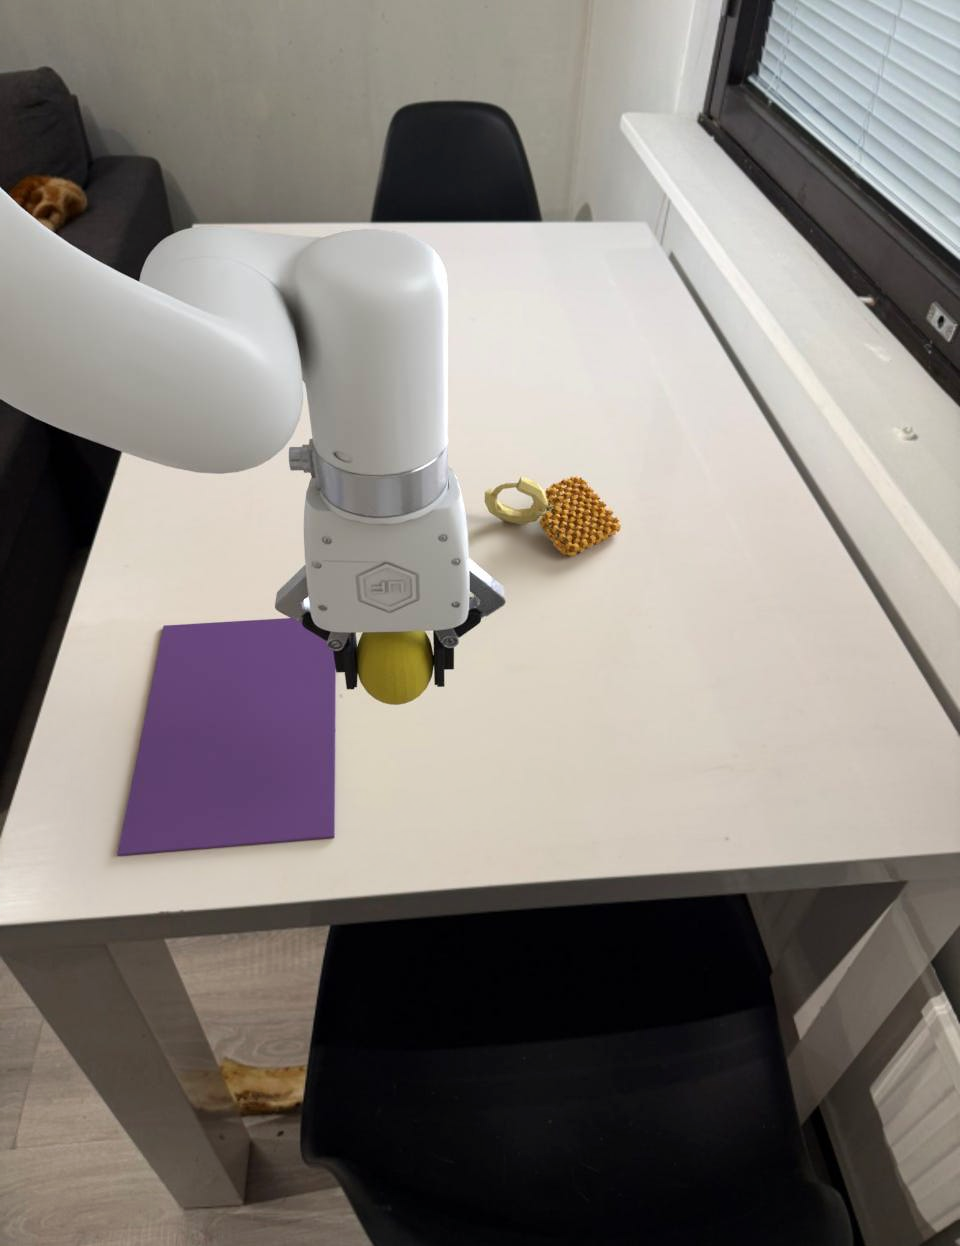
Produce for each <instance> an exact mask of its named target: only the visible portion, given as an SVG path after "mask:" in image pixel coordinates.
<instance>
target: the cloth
mask: <svg viewBox="0 0 960 1246" xmlns="http://www.w3.org/2000/svg"><path fill="white" fill-rule="evenodd" d="M336 681H337V679H336V668H335V660H334V653H333V650H330V649H329V648H328V647H327V641H326V640H324V639H322V638H320V637H319V636H317V635H315V634H314V633H312V632H310V631H309V630H307V629H305V628H304V627H303V625H302V622H300V621H295V620H293V619H292V618H290V617H285V618H269V619H268V618H267V619H254V620H253V619H250V620H234V621H217V622H216V621H215V622H203V623H202V622H201V623H199V622H197V623H184V624H182V623H181V624H168V625H163V626H162V632H161V637H160V641H159V646H158V651H157V657H156V662H155V666H154V672H153V676H152V681H151V686H150V691H149V695H148V696H149V697H148V701H147V706H146V709H145V710H146V711H145V716H144V721H143V726H142V730H141V736H140V740H139V745H138V750H137V756H136V760H135V765H134V769H133V775H132V780H131V786H130V790H129V795H128V800H127V804H126V809H125V814H124V819H123V824H122V829H121V834H120V839H119V844H118V849H117V856H118V857H127V856H136V855H148V854H159V853H171V852H173V853H174V852H184V851H192V850H193V851H195V850H207V849H209V850H210V849H219V848H221V849H222V848H230V847H231V848H233V847H242V846H255V845H269V844H278V843H279V844H280V843H291V842H303V841H315V840H327V839H334V838H335V827H336V826H335V824H336V823H335V822H336V821H335V819H336V816H335V815H336V814H335V812H336V811H335V810H336V809H335V808H336V805H335V804H336V799H335V798H336V796H335V795H336V793H335V792H336V686H337V685H336Z"/></svg>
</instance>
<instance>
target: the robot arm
mask: <svg viewBox="0 0 960 1246" xmlns="http://www.w3.org/2000/svg"><path fill="white" fill-rule="evenodd" d="M139 275H140V277H139V281H138V280H136V279H135V278H133V277H130V276H128V275H126V274H124V273H122V272H120V271H118V270H116V269H115V268H113V267H111V266H109V265H107V264H105V263H103V262H101V261H99V260H97V259H96V258H94V257H92V256H91V255H89V254H87V253H85V252H84V251H82V250H81V249H79V248H78V247H76V246H74V245H72V244H71V243H69V242H68V241H67V240H65V239H64V238H63V237H61V236H59V235H58V234H57V233H55V232H53V230H51V229H49V228H48V227H47V226H46V225H44V224H42V222H40V221H39V220H37V219H36V217H34V216H33V215H31V214H30V213H29V212H28V211H26V210H25V208H23V207H22V206H20V204H18V203H17V202H16V201H15V200H14V199H13V198H12V197H11V196H10V195H9V194H8V193H7V192H6V191H5V190H4V189H3V188H2V187H0V400H2V401H3V402H5V403H6V404H8V405H9V406H11V407H13V408H14V409H17V410H19V411H20V412H23V413H25V414H27V415H29V416H31V417H33V418H34V419H36V420H39V421H41V422H43V423H45V424H48V425H50V426H52V427H55V428H57V429H59V430H62V431H64V432H67V433H69V434H73V435H75V436H78V437H80V438H83V439H85V440H88V441H91V442H94V443H97V444H100V445H103V446H105V447H108V448H111V449H114V450H116V451H119V452H122V453H124V454H127V455H130V456H133V457H136V458H139V459H142V460H145V461H148V462H151V463H154V464H158V465H161V466H164V467H168V468H172V469H176V470H182V471H188V472H192V473H199V474H213V475H214V474H215V475H222V474H223V475H224V474H233V473H240V472H243V471H246V470H250V469H253V468H257V467H259V466H261V465H263V464H265V463H266V462H269V461H270V460H271V459H272V458H274V457H275V456H276V455H277V454H279V453H280V452H281V451H282V450H283V449H284V448H285V447H286V446H287V444H288V443H289V441H290V440H292V439H291V438H292V437H293V436H294V433H295V432H296V430H297V427H298V424H299V422H300V420H301V416H302V411H303V405H304V386H305V393H306V401H307V406H308V408H307V409H308V413H309V422H310V431H311V437H312V438H309V441H308V444H302V446H289V448H288V464H289V469H290V471H294V472H295V471H303V473H304V474H310V476H311V478H310V480H309V482H308V486H307V489H306V493H305V499H304V509H303V548H304V549H303V551H304V565H303V566H302V567H301V568H300V569H299V570H298V571H297V572H296V573H295V574H294V575H293V576H291V578H290V579H289V580H287V582H285V584H283V586H281V588H279V589H278V591H276V595H275V602H274V609H275V611H277V612H278V613H280V614H283V615H284V616H286V617H287V618H292V619H293V620H295V621H300V622H302V625H303V627H304V628H305V629H307V630H309V631H310V632H312V633H314V634H315V635H317V636H319V637H320V638H322V639H324V640H326V641H327V647H328V648H329V649H330V650H333V653H334V660H335V668H336V673H338V674H339V673H344V679H345V687H346V690H355V688H357V687H358V679H359V676H358V672H357V668H356V652H357V646H358V641H357V633H363V632H405V631H425V632H429V631H432V640H433V643H432V644H433V645H432V647H433V655H434V668H433V679H434V680H433V681H434V686H436V687H437V688H444V687H445V670H446V671H447V670H455V647H457V646H458V645H459V643H460V638H461V637H463V636H464V635H466V634H467V633H468V632H469V631H471V630H473V629H474V628H475V627H477V626H478V625H479V624H480V623H481V622H482V619H483V618H485V617H488V616H490V615H492V614H494V613H495V612H496V611H497V610H499V609H501V608H502V607H504V606H505V605H506V594H505V588H504V586H503V585H502V584H500V582H498V581H497V580H496V579H495V578H494V577H492V576H491V575H490V574H488V573H487V572H486V571H485V570H484V569H483V568H482V567H480V566H479V565H478V564H477V563H476V562H475V561H473V560H472V559H471V558H470V550H469V533H468V523H467V522H468V521H467V515H466V509H465V503H464V498H463V495H462V490H461V487H460V484H459V483H460V482H459V479H458V476H457V474H456V473H455V471H454V470H453V468H452V467H450V466H449V436H448V435H449V386H448V385H449V382H448V381H449V343H448V342H449V339H448V338H449V297H448V296H449V292H448V291H449V289H448V277H447V273H446V269H445V266H444V263H443V261H442V260H441V257H440V256H439V255H438V253H437V252H436V250H435V249H434V248H433V247H431V246H430V245H429V244H427V243H426V242H424V241H423V240H421V239H420V238H418V237H416V236H414V235H411V234H407V233H405V232H400V231H395V230H388V229H377V228H376V229H375V228H366V229H365V228H364V229H353V230H345V231H341V232H336V233H332V234H329V235H327V236H306V235H298V234H288V233H279V232H272V231H271V232H270V231H263V230H256V229H248V228H241V227H233V226H220V225H202V226H195V227H189V228H185V229H181V230H179V231H177V232H174V233H172V234H170V235H168V236H166V237H165V238H163V239H162V240H160V242H158V243H157V245H156V246H154V247H153V249H152V250H151V251H150V252H149V254H148V256H147V257H146V259H145V261H144V264H143V266H142V268H141V272H140V274H139ZM303 383H304V385H303ZM470 594H472V595H473V596H470Z"/></svg>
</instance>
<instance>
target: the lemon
mask: <svg viewBox="0 0 960 1246" xmlns="http://www.w3.org/2000/svg"><path fill="white" fill-rule="evenodd" d="M356 668H357V672H358V679H359V681H360V682H359V683H361V685H362V687H363V688H364V690H365V691H366V693H367V694H369V696H371V697H372V698H373V699H374V700H377V701H378V702H380V703H383V704H386V705H392V706H398V705H406V704H407V703H411V702H412V701H414V700H416V699H417V698H419V697H420V696H421V695H422V694H423V693H424V692H425V691H426V690H427V688H428V686H429V685H430V682H431V680H432V678H433V675H434V649H433V645H432V641H431V639H430V638H429V636H428V634H427V631H405V632H361V635H360V638H359V640H358V641H357V652H356Z"/></svg>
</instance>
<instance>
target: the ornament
mask: <svg viewBox="0 0 960 1246" xmlns="http://www.w3.org/2000/svg"><path fill="white" fill-rule="evenodd" d="M519 477H520V478H519V479H518V482H505V483H502V484H500V485H498V486H496V487H495V488H494V489H492V488H488V489H487V490H485V491H484V504H485V506H486V508H487V510H488V512H489V513H490V514H491V515H493V516H494V517H496V518H497V519H500V520H501V521H503V522H505V523H510V524H516V525H521V526H522V525H526V524H530V523H533V522H534V523H535V522H537V521H538V522H539V524H540V528H541V530H543V532H544V534H545V535H546V537H547V538H548V539H550V540H551V541H552V544H553V545H552V546H554V548H556V549H557V551H559V552H560V553H561V554H563V556H566V555H568V556H569V557H574V556H575V555H576V554H577V553H582V552H584V550H586V549H587V550H589V549H591V548H592V547H594V545H598V544H600V543H602V541H605V540H607V539H609V536H615V535H616V532H617V533H619V532H620V530H621V528H622V525H621V524H619V522H620V521H621V519H620V518H619V517H618V516H616V517H613V514H614V511H613V510H612V509H611V508H609V509H607V508H606V507H607V503H606V502H605V501H604V500H602V501H600V499H601V496H600V495H599V494H598V493H594V491H595V490H594V489H593V488H592V487H591V486H589V485H588V481H587V480H586V479H583V478H582V477H579V476H577V475H576V476H570V478H563V479H562V480H561V481H559V482H554V483H552V484H551V485H550V486H549V487H547V488H545V490H544V489H543V488H542V487H541V486H540V485H539V484H538V482H536V481H533V480H531V479H528V478H527V477H524V476H519ZM513 488H514V489H515V488H516V490H517V491H518V492H520V493H522V494H524V495H527V496H529V497H531V498H532V502H533V503H532V504H531V505H530V507H527V508H521V509H516V508H513V507H511V506H508V505H507V504H504V503H501V502H500V500H499V499H498V495H499V494H500V493H501V492H502V491H503V490H505V489H506V490H507V489H513Z"/></svg>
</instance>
